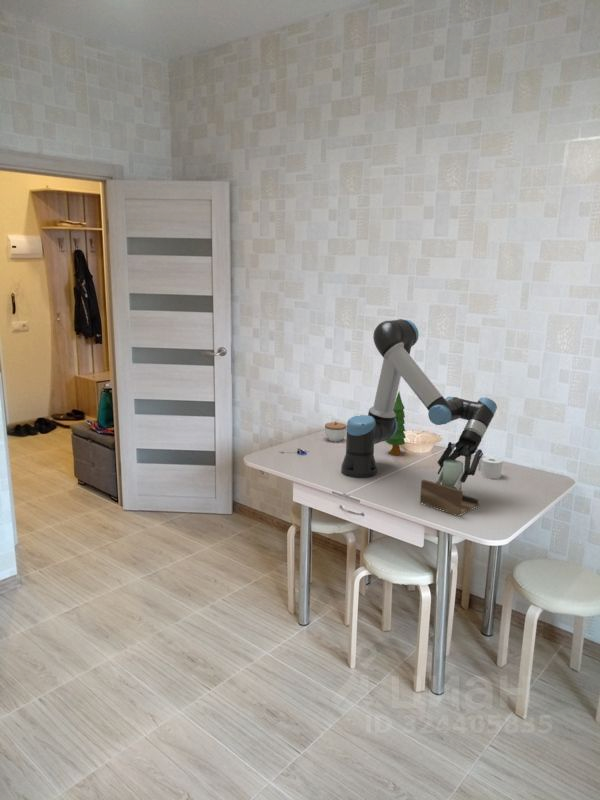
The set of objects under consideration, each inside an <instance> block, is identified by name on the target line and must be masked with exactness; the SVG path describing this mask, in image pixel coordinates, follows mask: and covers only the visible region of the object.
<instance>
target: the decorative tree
mask: <svg viewBox="0 0 600 800" xmlns="http://www.w3.org/2000/svg"><path fill="white" fill-rule="evenodd" d="M404 410H405V406H404V403H403V401H402V398H401V393H400V391H398V392H397V395H396V400H395V404H394V409H393V411H394V412H395V414H396V416H395V418H396V422H397V425H398V427H397V431H396V433H395V435H394V436H393V437H391V438H390V439H388V440H386V441H385V443H387V444H389V445H391V446H392V447H391V449H390V451H389V452H388V454H389V455H391V456H392V455H394V456H401V454H402V451H401V448H400V446H401V445H402V446H403V445H405V444H406V441H405V439H406V434H405V431H406V429H405V426H404V425H405V424H406V423H405V417H406V416H405V411H404ZM402 455H403V454H402Z"/></svg>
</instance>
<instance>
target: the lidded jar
mask: <svg viewBox="0 0 600 800" xmlns="http://www.w3.org/2000/svg"><path fill="white" fill-rule="evenodd" d="M346 428H347V423H346V424H345V423H343V422H337V421H334V422H331V421H330V422H326V423H325V424H324V434H325V436H326V438H327V439H328V441H330V442H333V443H334V442H335V443H336V442H337V443H338V442H341V441H342V440H343V439H344V438H345V436H346V434H347V430H346Z"/></svg>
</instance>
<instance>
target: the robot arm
mask: <svg viewBox="0 0 600 800" xmlns="http://www.w3.org/2000/svg"><path fill="white" fill-rule="evenodd" d="M372 335H373V343H374V345H375V347H376V349H377V351H378V353H379V354H380V355H381V357H382V358H383V361H382V365H381V369H380V375H379V378H378V379H379V380H378V384H377V389H376V393H375V398H374V402H373V406H372V407H370V408H369V409H368V414H361V415H360V414H359V415H354V416H351V417H350V418H349V419H348V420H347V423H346V438H345V439H346V440H345V441H346V442H345V445H346V447H345V455H344V458H343V461H342V462H341V468H340V469H341V470H340V471H341V473H342V474H344V475H345V476H349V477H354V478H371V477H373V476H376V475H377V473H378V466H377V462H376V460H375V456H374V452H375V451H374V450H375V445H376V444H380V443H382V442H386V440H388V439H390V438H391V437H393V436H394V435H395V433H396V431H397V427H398V425H397V422H396V418H395V416H396V414H395V412H394V411H393V409H394V404H395V401H396V398H397V395H398V392H399V387H400V382H401V377H402V379H403V380H404V381H405V383H406V384H407V385H408V386H409V388H410V389H411V390H412V391H413V393H414V394H415V395H416V396H417V398H418V399H419V401H421V403H422V405H424V407H425V408H426V409H427V411H428V414H427V415H428V419H429V421H430V422H431V423H432V424H434V425H436V426H441V425H446V424H449V423H452V421H453V422H454V421H456V420H458V419H462V420H465V421H467V423H466V424H465V426H464V427H463V430H462V432H461V433H460V435H459V439H458V441H457V442H456V443H453V442H452V441H449V442H448V444H447V447H446V448H445V450H444V452H443V453H442V455H441V456H440V458H439V460H437V465H438V466H439V467H440V468H439V470H438V471H437V477H436V479H435V483H438V484H441V485H442V476H443V462H444V461H445V460H457V459H458V458H460V457H461V456H462V457H464V465H463V472H461V474H460V476H459V478H458V480H457V482H456V483H455V485H454V487H455V489H458V490H459V488H460V486H461V484H462V485H463V483H465V482H466V481H467V479H468V477H469V476H472V477H473V476H475V475H476V471H477V468H478V467H479V465H478V463H479V460H480V458H481V457H483V456H484V453H483V450H482V449H478V448H479V446H480V445H481V442H482V440H483V438H484V436H485V434H486V432H487V429H489V425H490V424H491V422H492V419H493V418H494V417H495V414H496V411H497V409H498V406H497V403H496V402H495V401H494V400H493V399H491V398H488V397H485V396H484V397H480V398H479V399H478V400H477V401H473V400H468V399H463V398H459V397H458V396H447V397H446V398H444V396H443V395H442V394H441V393H440V391H439V390H438V389H437V388H436V386H435V385H434V384H433V382H432V381H431V380H430V379H429V378H428V376H427V375H426V373H425V372H424V371H423V370H422V368H421V367H420V366H419V365H418V364H417V362H416V361H415V360H414V358H413V357H412V356H411V354H410V353H411V350H412V347H414V345H416V344H417V342H418V340H419V337H420V336H419V330H418V327H417V326H416V324H415V323H414V322H413V321H411V320H409V319H403V318H400V319H394V320H384V321H382V322H380V323H378V325H377V326H376V327H375V329H374V331H373V334H372ZM472 455H474V457H473V460H472ZM471 460H472V462H471ZM461 487H462V486H461Z"/></svg>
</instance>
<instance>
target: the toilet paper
mask: <svg viewBox="0 0 600 800" xmlns="http://www.w3.org/2000/svg"><path fill="white" fill-rule="evenodd" d="M502 467H503V460H502V459H500V458H499V457H494V456H492V457H491V456H482V457H481V458H480V460H479V463H478V471H480V476H481V477H482V476H483V478H485V479H490V480H497V479H500V478H502V477H501V475H502Z"/></svg>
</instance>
